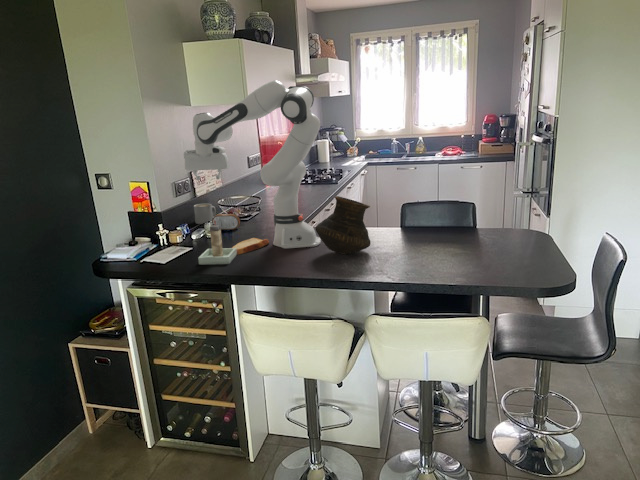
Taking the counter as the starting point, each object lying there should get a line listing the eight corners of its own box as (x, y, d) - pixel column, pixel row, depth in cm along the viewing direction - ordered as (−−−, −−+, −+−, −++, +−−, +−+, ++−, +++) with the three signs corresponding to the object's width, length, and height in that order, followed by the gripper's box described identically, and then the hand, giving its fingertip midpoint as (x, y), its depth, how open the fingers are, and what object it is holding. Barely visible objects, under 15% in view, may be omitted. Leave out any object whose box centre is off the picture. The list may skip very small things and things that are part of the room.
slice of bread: (230, 256, 214) (229, 247, 213) (231, 245, 231) (230, 237, 230) (271, 252, 217) (270, 244, 216) (268, 241, 234) (268, 234, 233)
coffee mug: (200, 224, 274) (198, 207, 271) (192, 222, 281) (190, 205, 279) (221, 220, 282) (219, 203, 279) (213, 218, 289) (211, 201, 287)
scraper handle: (223, 256, 210) (220, 225, 206) (221, 258, 206) (217, 227, 203) (215, 256, 210) (212, 225, 206) (213, 258, 207) (209, 227, 203)
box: (237, 254, 214) (236, 248, 213) (229, 263, 202) (228, 257, 201) (208, 255, 215) (207, 248, 214) (199, 264, 203) (198, 257, 202)
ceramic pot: (304, 255, 209) (301, 198, 202) (342, 243, 224) (341, 189, 217) (344, 266, 192) (342, 204, 185) (382, 252, 207) (382, 195, 200)
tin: (241, 228, 261) (239, 213, 259) (239, 229, 258) (238, 214, 256) (214, 228, 263) (212, 213, 261) (212, 230, 260) (210, 215, 258)
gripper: (180, 151, 220) (184, 181, 223) (224, 149, 218) (227, 179, 221) (185, 149, 226) (189, 179, 229) (228, 148, 224) (231, 177, 228)
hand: (208, 179), depth 225 cm, fingers open, 8 cm apart
